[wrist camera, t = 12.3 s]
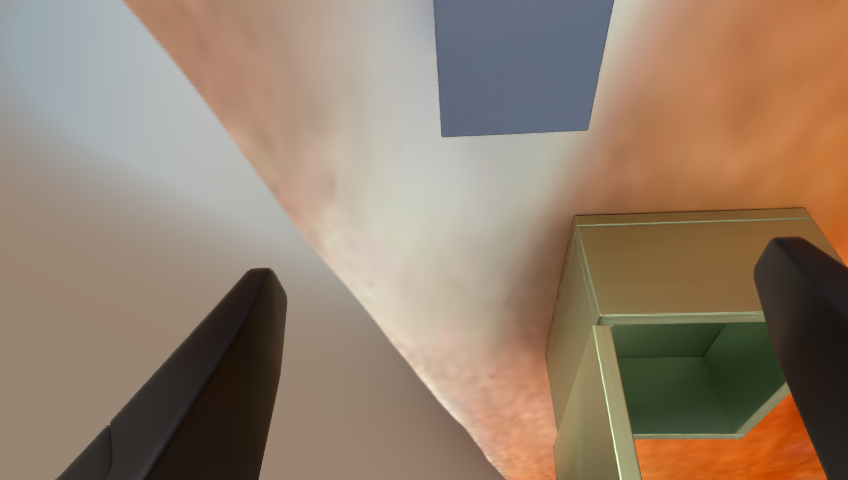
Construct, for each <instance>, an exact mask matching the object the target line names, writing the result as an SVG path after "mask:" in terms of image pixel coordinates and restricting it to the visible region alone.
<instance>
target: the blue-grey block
mask: <svg viewBox="0 0 848 480" xmlns="http://www.w3.org/2000/svg"><path fill="white" fill-rule="evenodd" d="M433 3H434V19H435V36H436V53H437V69H438V86H439V103H440V119H441V136H442V137H459V136H481V135H502V134H523V133H544V132H565V131H586V130H588V127H589V122H590V117H591V112H592V107H593V102H594V97H595V92H596V87H597V82H598V77H599V72H600V67H601V62H602V57H603V52H604V47H605V42H606V37H607V32H608V27H609V22H610V17H611V13H612V8H613V3H614V0H433Z"/></svg>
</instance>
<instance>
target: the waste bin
mask: <svg viewBox="0 0 848 480" xmlns="http://www.w3.org/2000/svg"><path fill="white" fill-rule="evenodd" d="M788 236H798V237H802V238H804V239H806V240H807V241H809V242H810V243H812V244H813V245H815V246H816V247H818V248H819V249H821V250H822V251H824V252H825V253H827V254H828V255H830V256H831V257H833V258H834V259H836V260H837V261H839V262H840V263H842V264H843V265H845V263H844V262H843V261H842V259H841V258H840V256H839V255H838V254H837V252H836V251H835V249H834V248H833V246H832V245H831V244H830V242H829V241H828V239H827V238H826V237H825V235H824V234H823V232H822V231H821V230H820V228H819V227H818V225H817V224H816V222H815V221H814V220H813V219H812V217H811V215H810V214H809V213H808V211H807V210H806V209H805V208H790V209H761V210H732V211H704V212H675V213H646V214H618V215H589V216H575V217H574V220H573V225H572V229H571V234H570V239H569V244H568V248H567V253H566V258H565V263H564V268H563V272H562V277H561V282H560V287H559V291H558V296H557V301H556V306H555V311H554V315H553V320H552V325H551V330H550V334H549V339H548V344H547V349H546V354H545V356H546V362H547V370H548V376H549V382H550V389H551V395H552V402H553V408H554V415H555V421H556V428H557V434H558V431H559V428H560V425H561V422H562V419H563V415H564V412H565V409H566V406H567V403H568V400H569V397H570V394H571V391H572V388H573V384H574V381H575V378H576V375H577V372H578V369H579V366H580V363H581V360H582V356H583V353H584V350H585V347H586V344H587V341H588V338H589V335H590V332H591V329H592V326H593V325H598V326H610V327H611V330H612V335H613V340H614V345H615V350H616V354H617V359H618V364H619V369H620V374H621V379H622V384H623V389H624V393H625V398H626V403H627V408H628V413H629V418H630V423H631V428H632V432H633V437H634V439H742V438H743V437H744V436H745V435H746V434H747V433H748V432H749V431H750V430H751V429H752V428H754V427H755V426H756V425H757V424H758V423H759V422H760V421H761V420H762V419H763V418H764V417H765V416H766V415H767V414H768V413H769V412H770V411H771V410H773V409H774V408H775V407H776V406H777V405H778V404H779V403H780V402H781V401H782V400H783V399H784V398H785V397H786V396H787V395H788V394H789V393H791V392H790V389H789V387H788V384H787V382H786V380H785V377H784V375H783V373H782V370H781V368H780V365H779V363H778V360H777V357H776V354H775V351H774V348H773V345H772V342H771V338H770V335H769V331H768V328H767V324H766V321H765V317H764V314H763V310H762V307H761V303H760V299H759V296H758V292H757V289H756V285H755V282H754V276H753V272H754V267H755V265H756V263H757V261H758V260H759V258H760V256H761V254H762V253H763V251H764V249H765V248H766V246H767V244H768V242H769V241H770V240H771V239H773V238H776V237H788ZM845 266H846V265H845ZM846 267H847V266H846Z"/></svg>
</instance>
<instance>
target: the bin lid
mask: <svg viewBox="0 0 848 480" xmlns="http://www.w3.org/2000/svg"><path fill="white" fill-rule="evenodd" d="M553 450H554V460H555V470H556V480H642V476H641V471H640V466H639V462H638V457H637V452H636V447H635V442H634V437H633V432H632V428H631V423H630V418H629V413H628V408H627V403H626V398H625V393H624V389H623V384H622V379H621V374H620V369H619V364H618V359H617V354H616V350H615V345H614V340H613V335H612V330H611V327H610V326H598V325H593V326H592V329H591V332H590V335H589V338H588V341H587V344H586V347H585V350H584V353H583V356H582V360H581V363H580V366H579V369H578V372H577V375H576V378H575V381H574V384H573V388H572V391H571V394H570V397H569V400H568V403H567V406H566V409H565V412H564V415H563V419H562V422H561V425H560V428H559V431H558V434H557V437H556V440H555V443H554V447H553Z"/></svg>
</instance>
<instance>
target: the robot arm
mask: <svg viewBox="0 0 848 480" xmlns="http://www.w3.org/2000/svg"><path fill="white" fill-rule="evenodd" d="M753 276H754V282H755V285H756V289H757V292H758V296H759V299H760V303H761V307H762V310H763V314H764V317H765V321H766V324H767V328H768V331H769V335H770V338H771V342H772V345H773V348H774V351H775V354H776V357H777V360H778V363H779V365H780V368H781V370H782V373H783V375H784V377H785V380H786V382H787V384H788V387H789V389H790V392H791V394H792V396H793V399H794V401H795V403H796V406H797V408H798V411H799V413H800V415H801V418H802V420H803V422H804V425H805V427H806V430H807V432H808V434H809V437H810V439H811V441H812V444H813V446H814V448H815V451H816V453H817V456H818V458H819V460H820V463H821V465H822V467H823V470H824V472H825V475H826V477H827V479H828V480H848V267H846V266H845V265H843V264H842V263H840V262H839V261H837V260H836V259H834V258H833V257H831V256H830V255H828V254H827V253H825V252H824V251H822V250H821V249H819V248H818V247H816V246H815V245H813V244H812V243H810V242H809V241H807V240H806V239H804V238H802V237H798V236H788V237H776V238H773V239H771V240H770V241H769V242H768V244H767V246H766V248H765V249H764V251H763V253H762V254H761V256H760V258H759V260H758V261H757V263H756V265H755V267H754V272H753ZM286 311H287V296H286V293H285V290H284V288H283V287H282V285H281V283H280V281H279V280H278V278H277V276H276V274H275V272H274V271H273V270H272V269H271V268H256V269H255V268H254V269H250V270H249V271H247V272H246V273H245V274H244V276H243V277H242V278H241V279H240V280H239V281H238V282H237V283H236V284H235V286H233V288H232V289H231V290H230V291H229V292H228V293H227V294H226V295H225V296H224V298H223V299H222V300H221V301H220V302H219V303H218V304H217V305H216V306H215V308H213V310H212V311H211V312H210V313H209V314H208V315H207V316H206V317H205V319H204V320H203V321H202V322H201V323H200V324H199V325H198V326H197V327H196V328H195V329H194V330H193V331H192V333H191V334H190V335H189V336H188V337H187V338H186V339H185V340H184V341H183V342H182V344H181V345H180V346H179V347H178V348H177V349H176V350H175V351H174V352H173V353H172V355H171V356H170V357H169V358H168V359H167V360H166V361H165V362H164V363H163V364H162V366H161V367H160V368H159V369H158V370H157V371H156V372H155V373H154V374H153V376H152V377H151V378H150V379H149V380H148V381H147V382H146V383H145V384H144V385H143V386H142V387H141V389H140V390H139V391H138V392H137V393H136V394H135V395H134V396H133V397H132V399H131V400H130V401H129V402H128V403H127V404H126V405H125V406H124V407H123V408H122V409H121V411H120V412H119V413H118V414H117V415H116V416H115V417H114V418H113V420H112V421H111V422H110V425H107V426H106V427H105V428H104V429H103V430H102V431H101V432H100V433H99V435H98V436H97V437H96V438H95V439H94V440H93V441H92V442H91V443H90V444H89V445H88V447H87V448H86V449H85V450H84V451H83V452H82V453H81V454H80V455H79V456H78V457H77V458H76V459H75V460H74V461H73V463H71V464H70V466H69V467H68V468H67V469H66V470H65V471H64V472H63V473H62V474H61V475H60V476H59V477H58V478H57V479H56V480H258V479H259V474H260V470H261V465H262V460H263V455H264V450H265V446H266V441H267V437H268V432H269V427H270V421H271V418H272V413H273V408H274V403H275V399H276V394H277V389H278V384H279V378H280V373H281V365H282V354H283V343H284V332H285V322H286Z"/></svg>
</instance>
